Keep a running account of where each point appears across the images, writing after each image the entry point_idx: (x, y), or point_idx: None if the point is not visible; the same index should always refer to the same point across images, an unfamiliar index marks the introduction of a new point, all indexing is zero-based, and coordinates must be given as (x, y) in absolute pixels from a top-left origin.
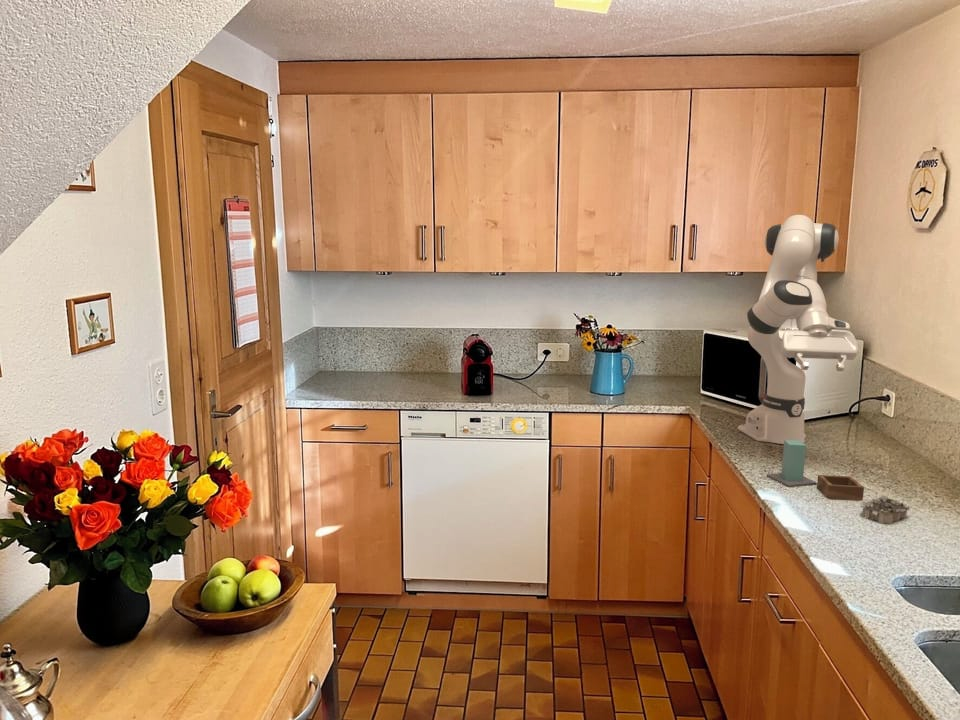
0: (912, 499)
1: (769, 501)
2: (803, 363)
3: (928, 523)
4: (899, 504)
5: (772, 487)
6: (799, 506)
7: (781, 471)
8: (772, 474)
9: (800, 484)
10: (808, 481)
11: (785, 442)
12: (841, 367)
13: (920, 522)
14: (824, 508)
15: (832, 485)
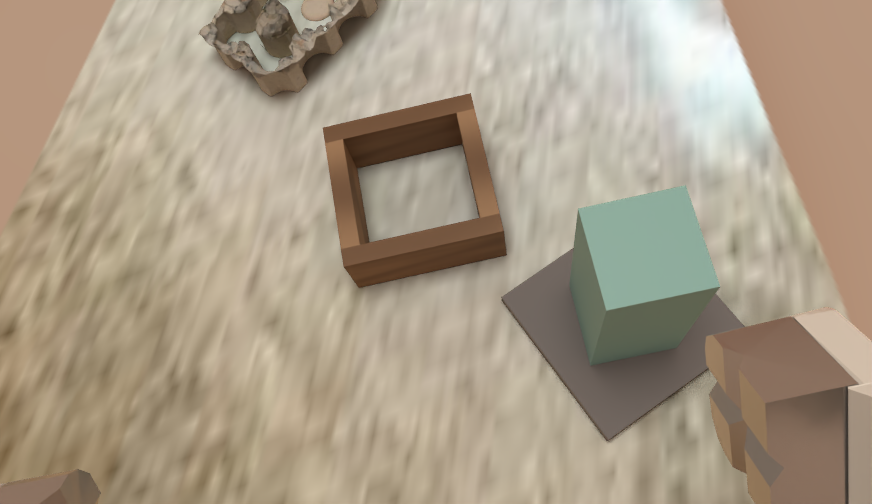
0: (126, 252)
1: (714, 11)
2: (855, 342)
3: (171, 18)
4: (228, 43)
5: (710, 182)
6: (597, 4)
7: (679, 341)
8: None
9: None
10: (541, 296)
11: (709, 264)
12: (20, 484)
13: (194, 17)
14: (504, 19)
15: (457, 101)
